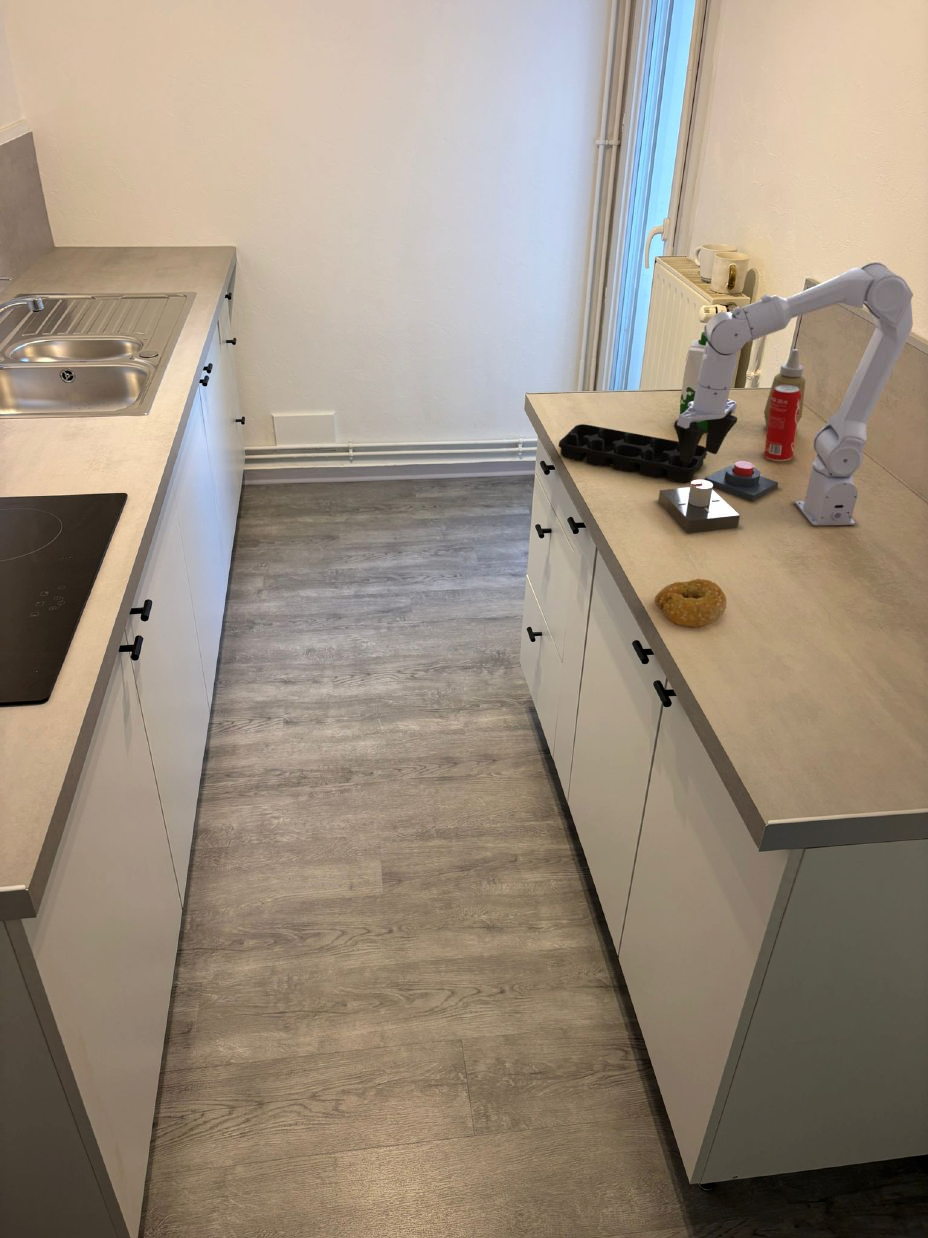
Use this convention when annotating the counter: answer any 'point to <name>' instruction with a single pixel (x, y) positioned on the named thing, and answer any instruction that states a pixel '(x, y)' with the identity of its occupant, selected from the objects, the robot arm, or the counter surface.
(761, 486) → the switch block
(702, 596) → the bagel
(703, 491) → the hob knob
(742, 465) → the power button
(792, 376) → the squeeze bottle
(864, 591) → the counter surface
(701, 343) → the milk carton
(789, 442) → the beverage can
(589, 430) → the egg carton
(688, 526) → the panel
